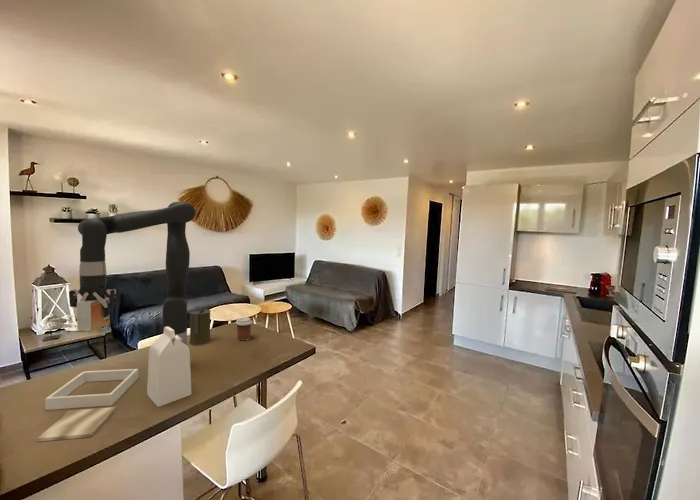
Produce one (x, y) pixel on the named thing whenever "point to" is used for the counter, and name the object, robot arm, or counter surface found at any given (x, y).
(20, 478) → the counter surface
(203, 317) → the canister
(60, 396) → the bin
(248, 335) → the coffee cup
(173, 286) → the robot arm
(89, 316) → the small box
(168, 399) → the milk
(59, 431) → the board
